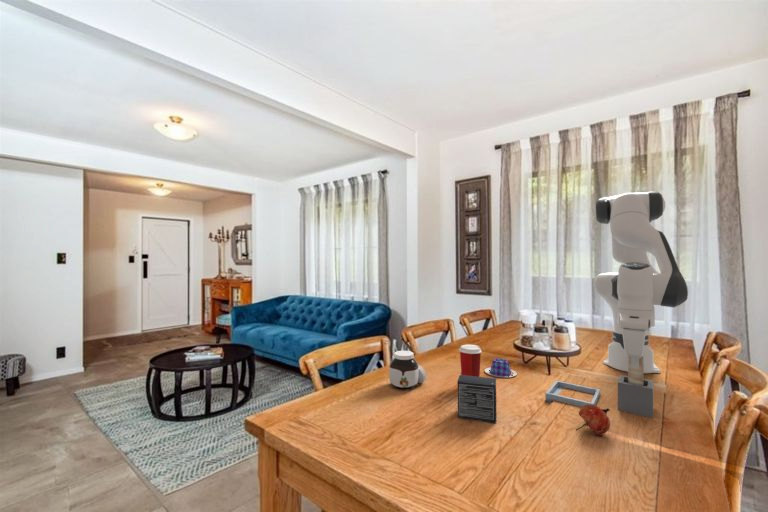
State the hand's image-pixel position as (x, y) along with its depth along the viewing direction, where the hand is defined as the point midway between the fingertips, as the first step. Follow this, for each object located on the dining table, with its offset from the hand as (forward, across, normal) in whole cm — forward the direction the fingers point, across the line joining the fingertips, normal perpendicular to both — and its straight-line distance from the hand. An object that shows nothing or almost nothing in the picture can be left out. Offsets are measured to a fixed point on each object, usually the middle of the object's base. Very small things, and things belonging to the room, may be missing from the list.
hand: (635, 365), depth 99 cm
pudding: (+14, -9, -43) cm, 46 cm away
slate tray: (+14, +1, -16) cm, 21 cm away
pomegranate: (+14, +21, -8) cm, 26 cm away
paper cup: (+14, +12, -46) cm, 50 cm away
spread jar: (+14, +24, -64) cm, 70 cm away
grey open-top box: (+14, 0, 0) cm, 14 cm away
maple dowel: (+10, 0, 0) cm, 10 cm away
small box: (+14, +31, -35) cm, 49 cm away
